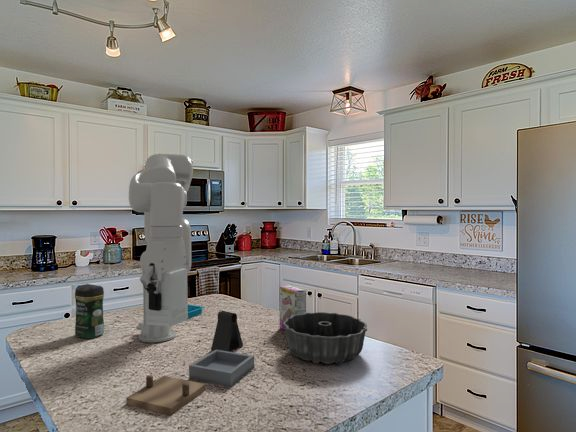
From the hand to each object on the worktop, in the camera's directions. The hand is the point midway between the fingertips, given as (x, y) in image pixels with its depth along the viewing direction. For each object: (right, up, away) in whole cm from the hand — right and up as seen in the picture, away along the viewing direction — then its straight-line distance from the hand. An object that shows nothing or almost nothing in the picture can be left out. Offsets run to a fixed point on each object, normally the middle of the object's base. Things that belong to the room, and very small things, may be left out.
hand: (166, 305), depth 94 cm
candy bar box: (+31, -22, +51) cm, 64 cm away
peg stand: (0, -22, 0) cm, 22 cm away
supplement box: (0, -4, 0) cm, 4 cm away
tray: (+11, -22, +14) cm, 28 cm away
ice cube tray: (-17, -22, +71) cm, 76 cm away
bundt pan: (+41, -22, +29) cm, 55 cm away
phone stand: (+9, -22, +33) cm, 41 cm away
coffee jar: (-43, -22, +46) cm, 67 cm away
